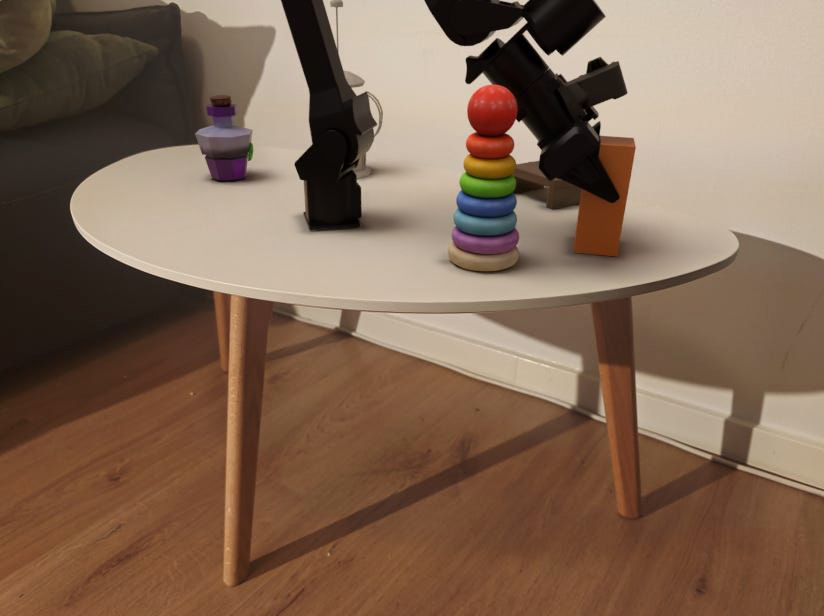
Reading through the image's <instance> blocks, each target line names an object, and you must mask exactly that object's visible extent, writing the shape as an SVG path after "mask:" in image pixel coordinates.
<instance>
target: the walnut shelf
mask: <svg viewBox="0 0 824 616" xmlns="http://www.w3.org/2000/svg"><path fill="white" fill-rule="evenodd" d="M512 175H513V176H514V177H515V179H516V187H515V189H514V191H513V193H514V194H519V193H524V192H529V191H535V190H540V189H541V190H542V189H544V188H545V187H546V188H548V190H547V197H546V198H547V199H546V208H548V209H550V210H555V209H560V208H566V207H570V206H575V205H579V204H580V197H581V190H582V189H581V188H579V187H577V186H575V185H572V184H570V183H568V182H566V181H563V180H561V179H557V178H555V179H554V180H552V181H549V180H548V179H547V178H546V177H545V175H544V174H543V173H542V172H541V171H540V169H539V160H536V161H528V162H522V163H516V169H515V171H514V173H513V174H512Z"/></svg>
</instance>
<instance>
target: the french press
mask: <svg viewBox="0 0 824 616" xmlns="http://www.w3.org/2000/svg"><path fill="white" fill-rule="evenodd" d="M329 6H330V8H335V24H336V25H335V26H336V47H337V50H338V54H339V20H338V19H339V16H338V15H339V13H338V9H339V8H343V7H344V2H343V0H330V1H329ZM339 55H340V54H339ZM343 71H344V74H345V78H346V80H347V82H348V84H349V85H350V87H351V88H352V89H353V88H361V87H363V86H364V85H365V83H366V81H365V79H363V78H362V77H361V76H359V75H358V74H355V73H354V72H351V71H349V70H343ZM364 92H367V94H368V97H369V99H371V100H372V102H373V103H374V104H375V106H376V108H377V111H378V125H377V129H376V131H375V132H374V138H375V137H376V136H377V135H378V134H379V133H380V131H381V129H382V127H383V126H382V125H383V117H384V111H383V107H382V104H381V103H380V101H379V99H378V98H377V97H376V96H375V95H374V94H373V93H371V92H369V91H368V90H367V91H364ZM352 170H353V171H354V173H355V174H356V175H357V179H361V178H365V177H367V176H369V175H371V174H372V170H371V169H370V167H368V166H367V153H365V154H364V155H363V156H362V157H361V158H360V161H359V164H358V166H357V167H356V168H354V169H352Z"/></svg>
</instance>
